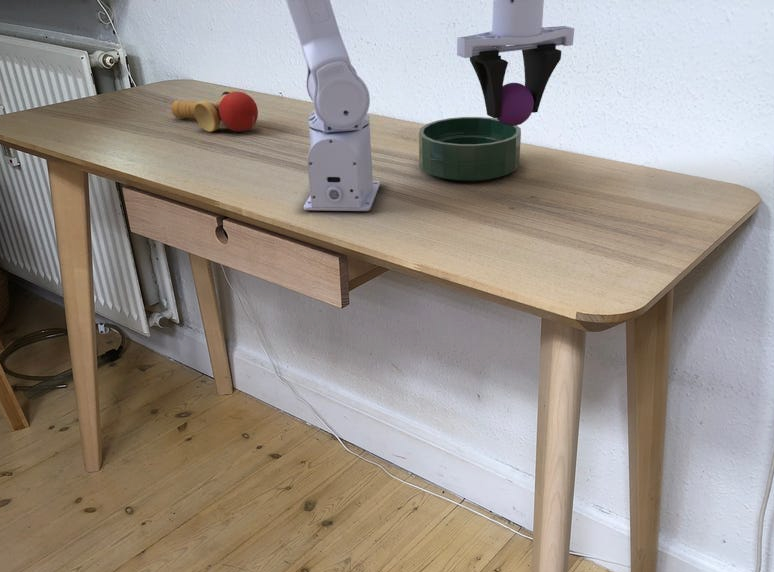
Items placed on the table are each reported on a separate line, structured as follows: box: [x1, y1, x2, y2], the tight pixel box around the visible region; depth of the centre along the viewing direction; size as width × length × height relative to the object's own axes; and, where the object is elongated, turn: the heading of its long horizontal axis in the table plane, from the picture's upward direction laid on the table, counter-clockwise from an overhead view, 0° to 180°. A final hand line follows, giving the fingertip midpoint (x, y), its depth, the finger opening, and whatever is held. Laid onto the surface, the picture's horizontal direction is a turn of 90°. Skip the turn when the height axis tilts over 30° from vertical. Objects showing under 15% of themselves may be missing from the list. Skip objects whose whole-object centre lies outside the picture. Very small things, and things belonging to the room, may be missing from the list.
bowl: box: [418, 116, 522, 182], centre depth 100 cm, size 13×13×5 cm
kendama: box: [171, 89, 259, 133], centre depth 122 cm, size 8×6×18 cm
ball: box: [496, 82, 534, 126], centre depth 92 cm, size 5×5×5 cm
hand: (512, 113), depth 93 cm, fingers closed on ball, 5 cm apart
